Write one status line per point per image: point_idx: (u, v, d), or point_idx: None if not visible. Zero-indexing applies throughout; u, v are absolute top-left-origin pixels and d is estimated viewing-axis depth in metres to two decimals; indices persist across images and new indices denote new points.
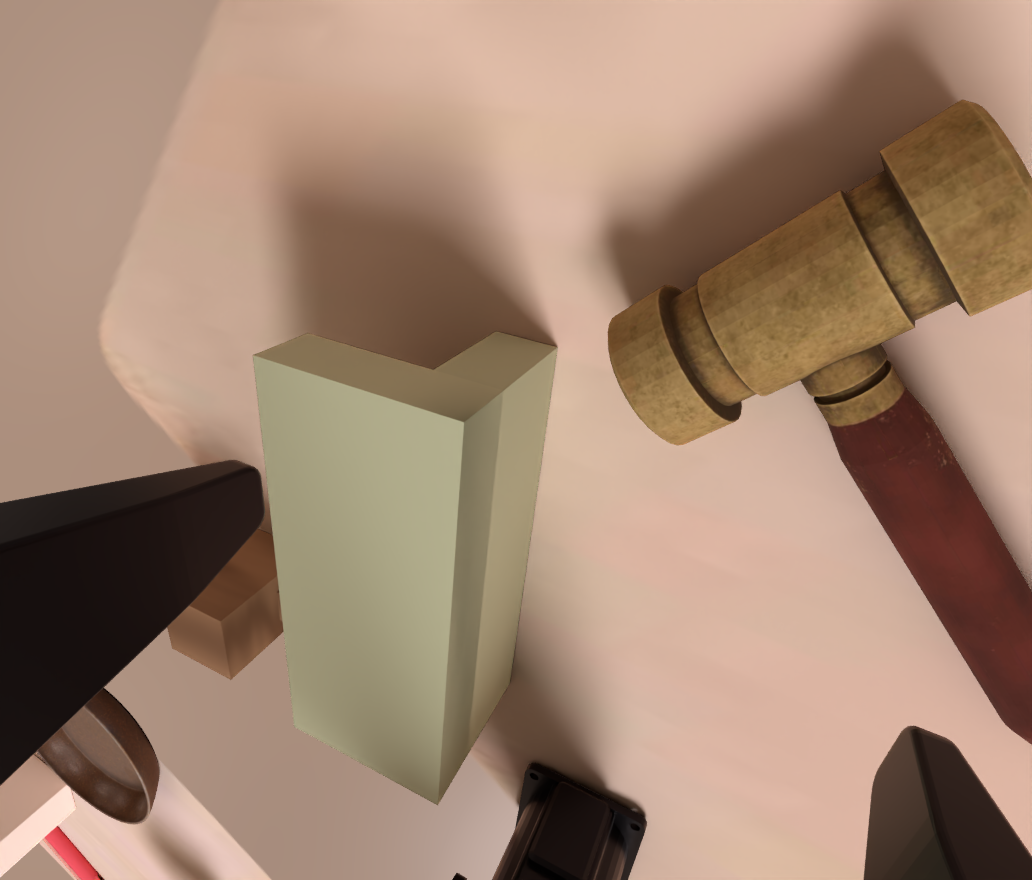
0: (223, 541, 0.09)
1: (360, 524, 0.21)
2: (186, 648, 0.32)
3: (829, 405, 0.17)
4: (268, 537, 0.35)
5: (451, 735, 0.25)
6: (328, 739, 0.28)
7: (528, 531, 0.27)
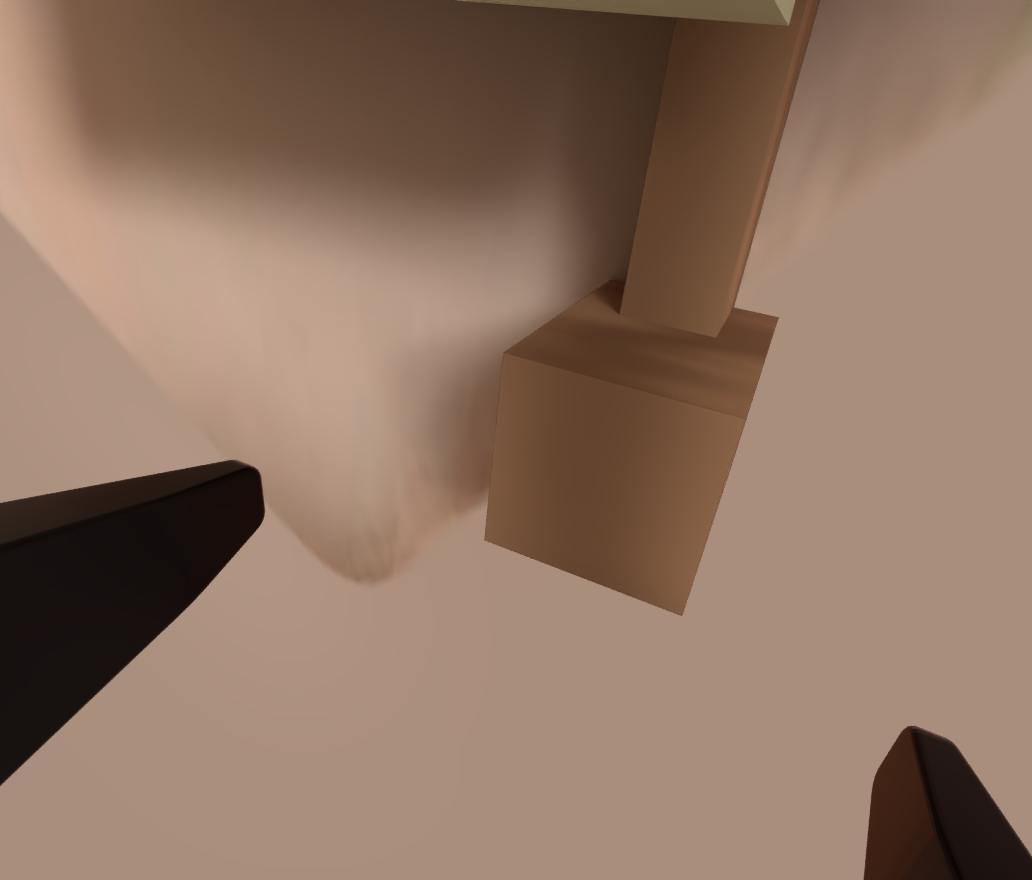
0: (223, 541, 0.09)
1: None
2: (664, 556, 0.11)
3: None
4: None
5: None
6: None
7: None
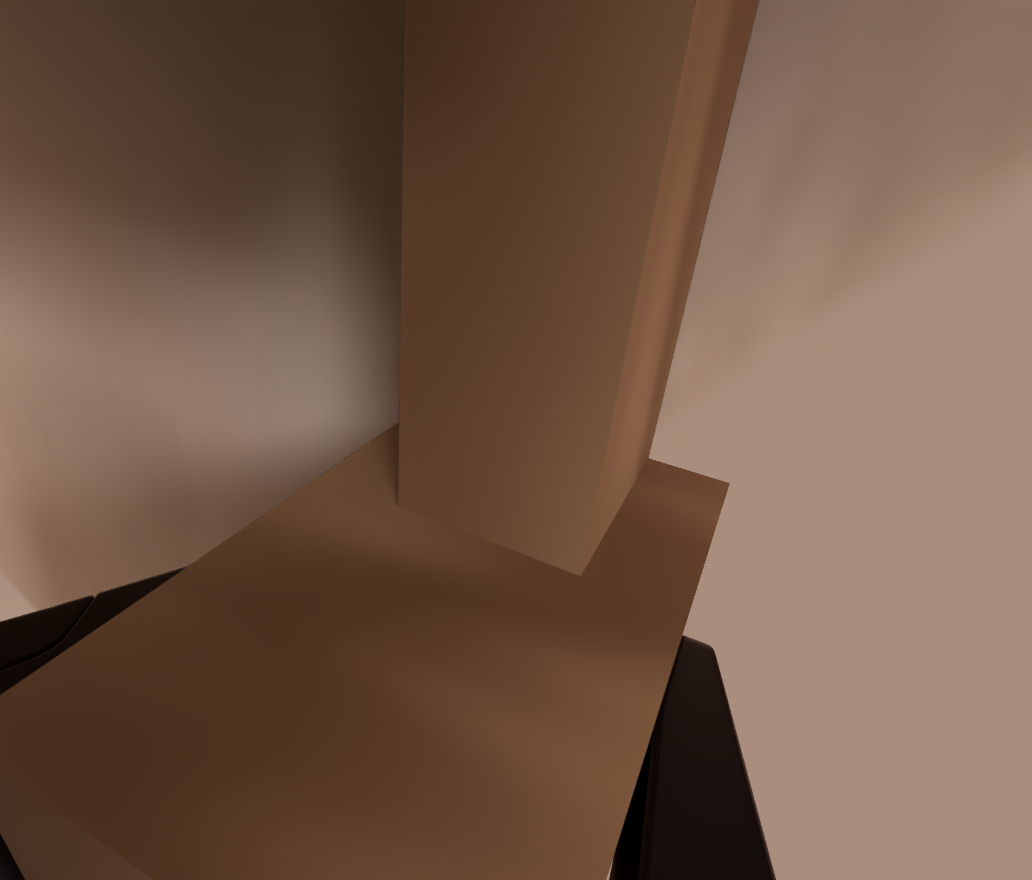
0: None
1: None
2: None
3: None
4: None
5: None
6: None
7: None
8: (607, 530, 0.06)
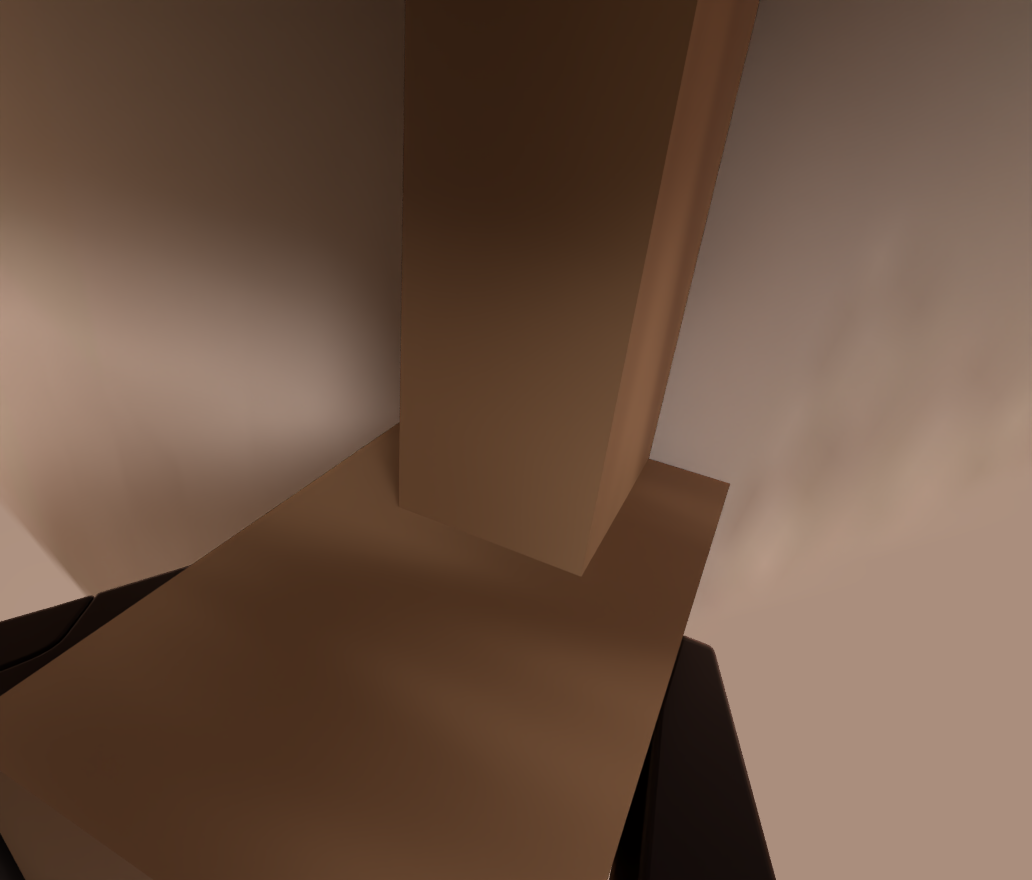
0: None
1: None
2: None
3: None
4: None
5: None
6: None
7: None
8: (608, 531, 0.06)
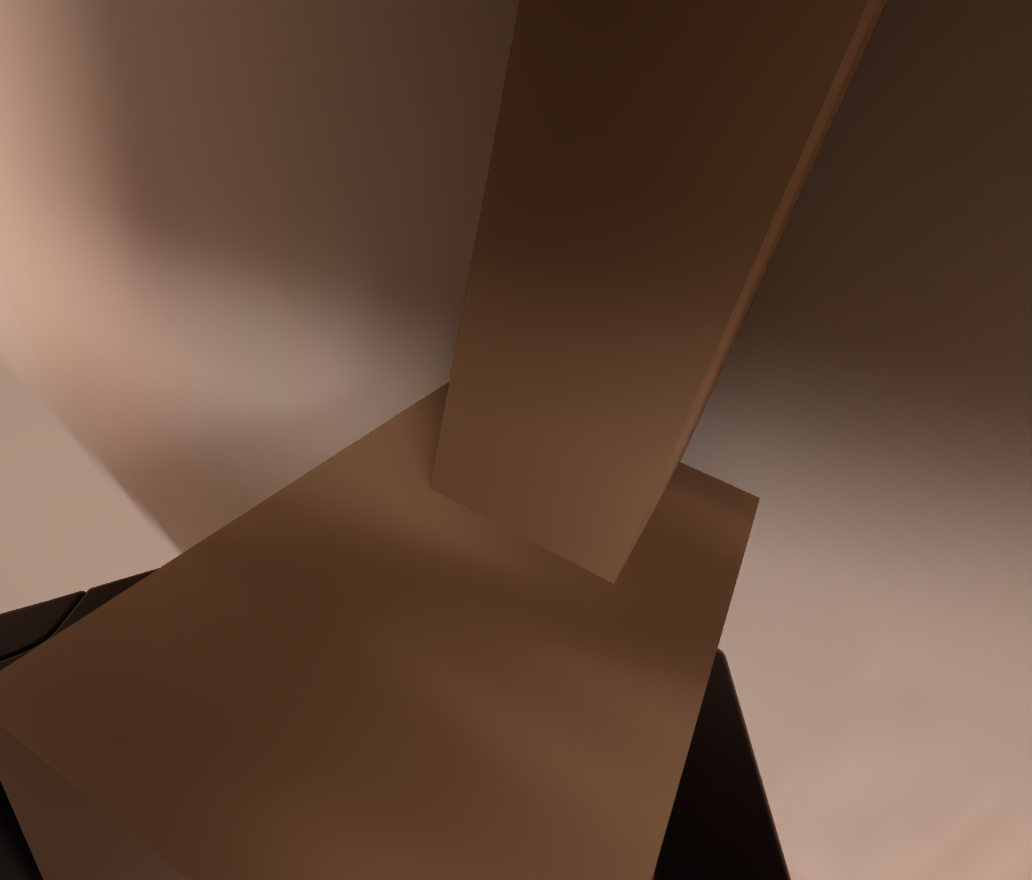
0: None
1: None
2: None
3: None
4: None
5: None
6: None
7: None
8: (640, 536, 0.06)
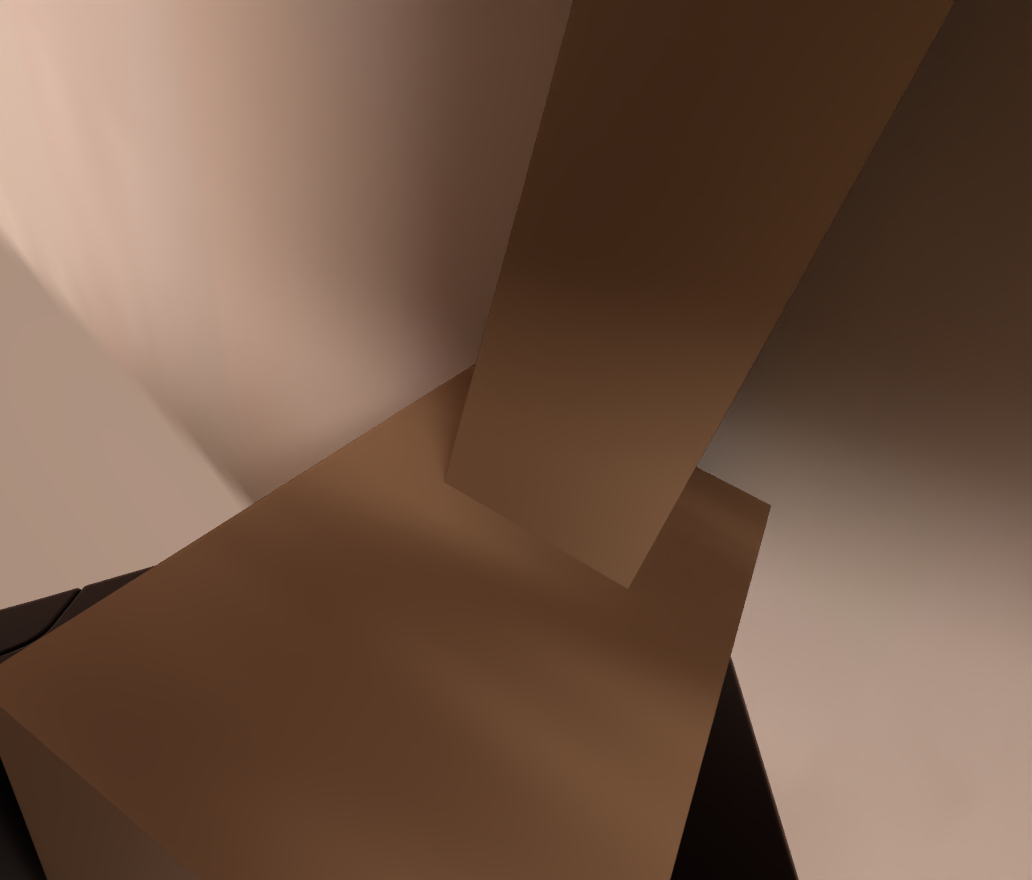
0: None
1: None
2: None
3: None
4: None
5: None
6: None
7: None
8: (653, 541, 0.06)
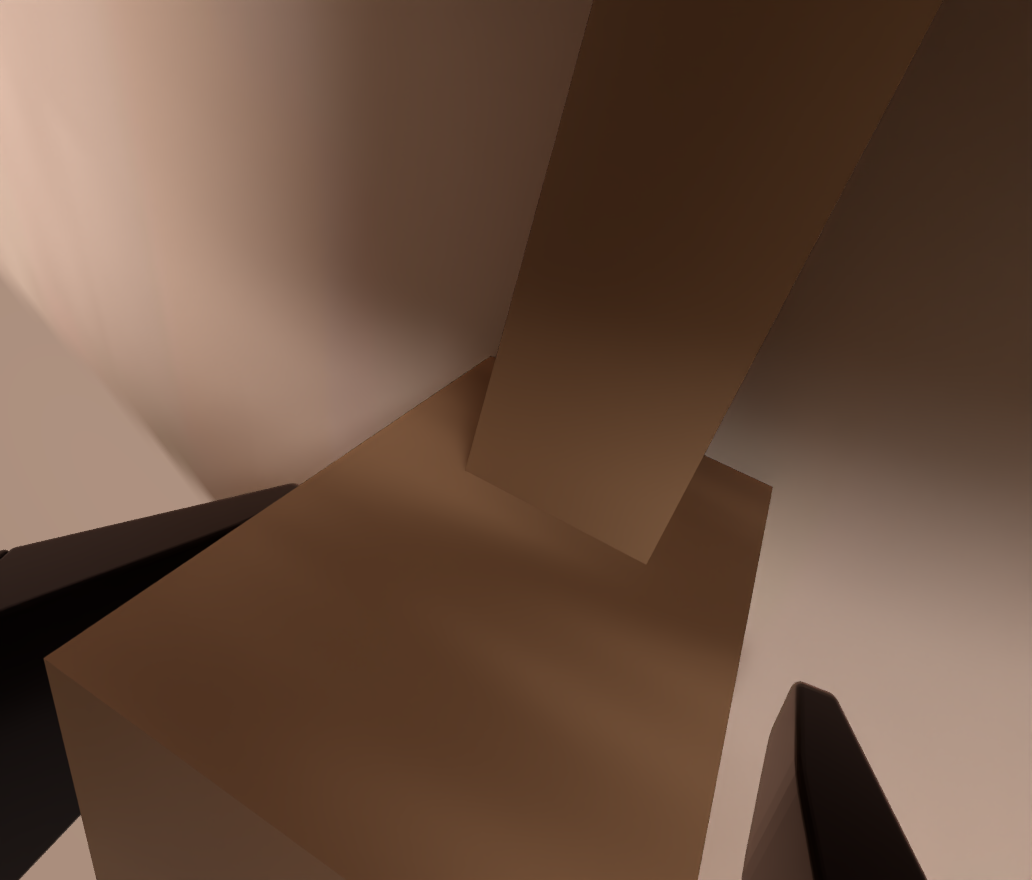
0: None
1: None
2: None
3: None
4: None
5: None
6: None
7: None
8: None
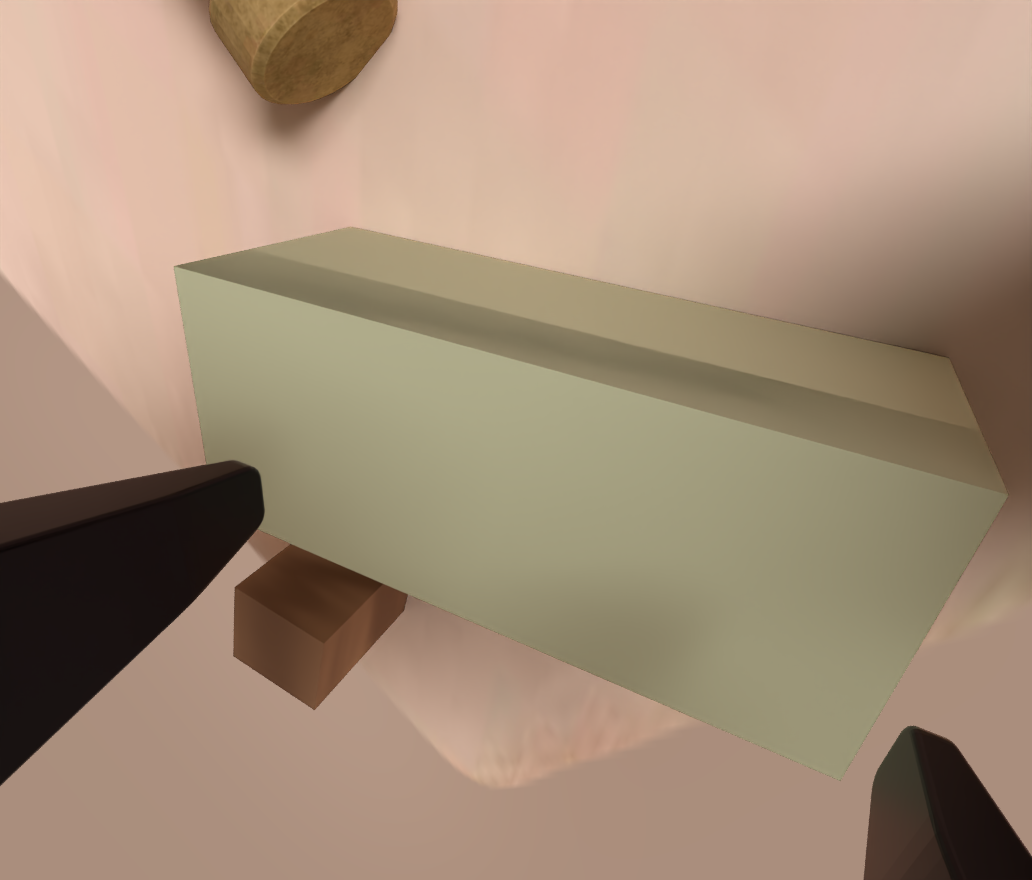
0: (223, 541, 0.09)
1: (340, 447, 0.16)
2: (304, 684, 0.23)
3: None
4: None
5: (782, 414, 0.12)
6: (850, 712, 0.13)
7: (572, 279, 0.18)
8: None
